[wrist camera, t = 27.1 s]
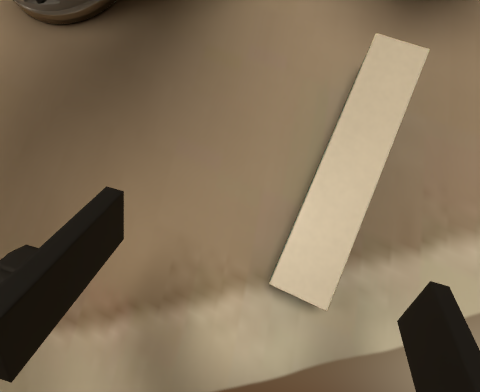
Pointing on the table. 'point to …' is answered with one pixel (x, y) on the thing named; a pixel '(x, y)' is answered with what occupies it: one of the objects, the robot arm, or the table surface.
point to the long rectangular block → (349, 172)
